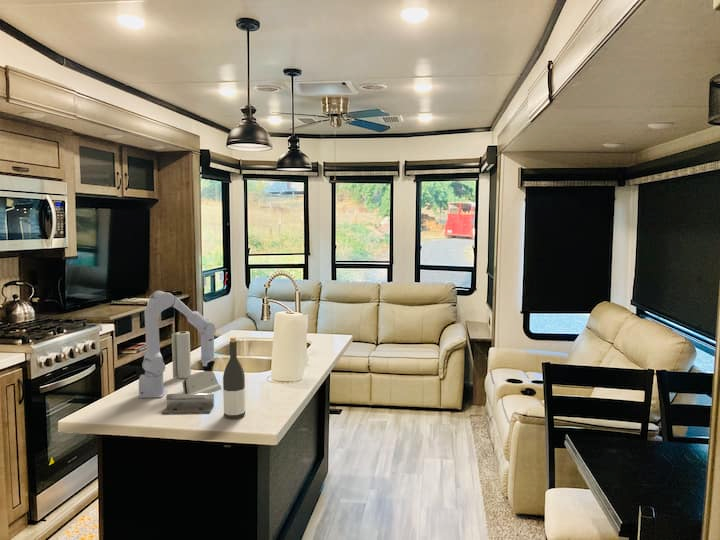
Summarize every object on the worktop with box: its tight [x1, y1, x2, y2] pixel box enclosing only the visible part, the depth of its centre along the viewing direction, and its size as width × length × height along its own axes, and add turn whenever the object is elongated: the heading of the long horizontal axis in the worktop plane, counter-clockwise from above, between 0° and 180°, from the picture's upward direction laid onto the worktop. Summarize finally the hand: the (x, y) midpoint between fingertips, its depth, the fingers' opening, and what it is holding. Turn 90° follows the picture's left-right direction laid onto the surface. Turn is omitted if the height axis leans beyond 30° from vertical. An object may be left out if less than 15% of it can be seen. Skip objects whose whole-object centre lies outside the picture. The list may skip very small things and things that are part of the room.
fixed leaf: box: [161, 392, 215, 415], centre depth 214 cm, size 18×8×5 cm, turn 93°
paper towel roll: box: [171, 330, 192, 379], centre depth 257 cm, size 7×6×21 cm
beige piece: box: [181, 370, 222, 394], centre depth 235 cm, size 17×5×10 cm, turn 149°
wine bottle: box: [222, 336, 246, 420], centre depth 207 cm, size 8×8×30 cm
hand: (208, 377), depth 249 cm, fingers closed
